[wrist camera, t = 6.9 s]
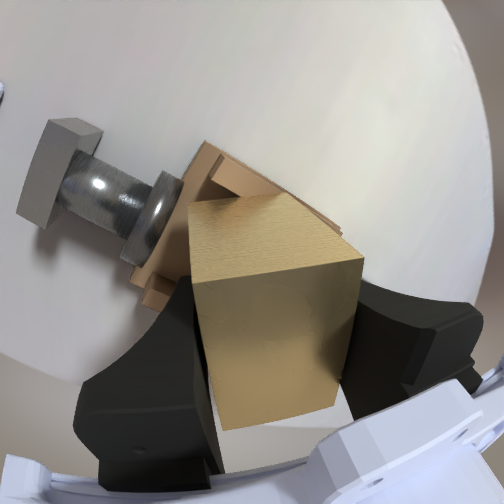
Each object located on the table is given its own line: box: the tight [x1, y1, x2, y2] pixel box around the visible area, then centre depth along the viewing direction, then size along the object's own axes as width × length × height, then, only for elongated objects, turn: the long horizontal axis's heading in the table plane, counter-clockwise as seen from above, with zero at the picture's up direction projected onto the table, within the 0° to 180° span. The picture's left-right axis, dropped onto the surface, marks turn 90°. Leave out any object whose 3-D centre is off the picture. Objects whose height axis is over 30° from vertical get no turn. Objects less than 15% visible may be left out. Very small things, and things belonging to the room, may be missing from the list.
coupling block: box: [188, 193, 364, 431], centre depth 10 cm, size 6×4×6 cm, turn 3°
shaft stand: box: [16, 118, 372, 312], centre depth 14 cm, size 20×8×4 cm, turn 57°
